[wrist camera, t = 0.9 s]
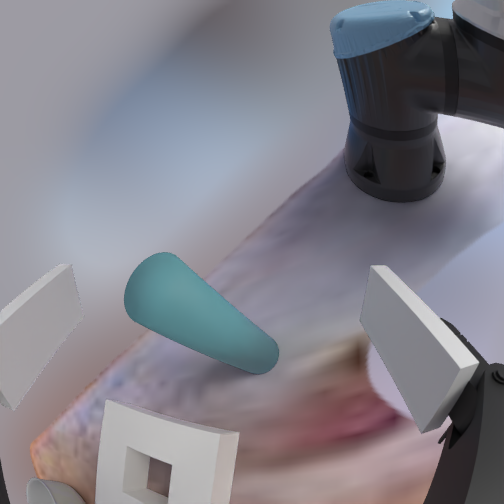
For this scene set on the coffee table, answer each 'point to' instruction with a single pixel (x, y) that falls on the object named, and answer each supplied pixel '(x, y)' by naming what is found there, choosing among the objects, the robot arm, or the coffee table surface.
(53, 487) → the teacup
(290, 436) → the coffee table surface
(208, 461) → the socket block
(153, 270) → the peg
